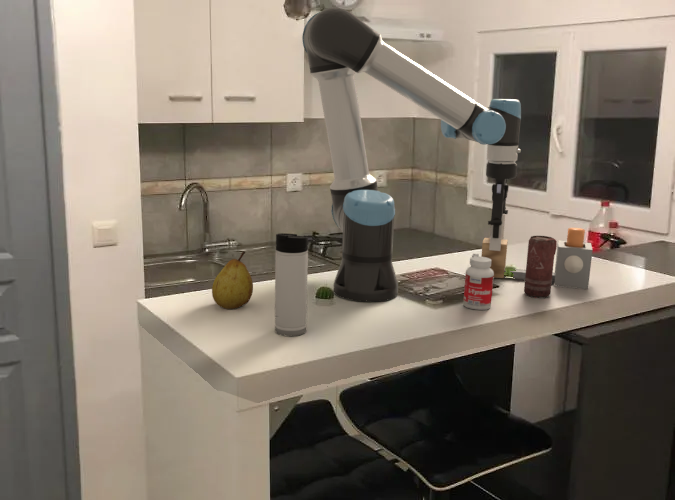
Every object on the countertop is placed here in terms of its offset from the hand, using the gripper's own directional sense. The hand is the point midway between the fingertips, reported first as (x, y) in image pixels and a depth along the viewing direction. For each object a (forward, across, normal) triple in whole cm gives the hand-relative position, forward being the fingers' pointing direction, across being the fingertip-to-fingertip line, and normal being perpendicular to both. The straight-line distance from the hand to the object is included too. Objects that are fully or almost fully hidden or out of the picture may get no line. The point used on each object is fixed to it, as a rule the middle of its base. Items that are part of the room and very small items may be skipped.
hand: (496, 244), depth 188 cm
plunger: (+1, 0, -19) cm, 19 cm away
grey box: (+9, 0, -19) cm, 21 cm away
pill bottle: (+8, -28, +2) cm, 29 cm away
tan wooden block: (+8, 0, 0) cm, 8 cm away
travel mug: (+8, -58, +36) cm, 69 cm away
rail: (+8, 0, -5) cm, 10 cm away
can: (+9, -14, -11) cm, 20 cm away
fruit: (+7, -47, +53) cm, 71 cm away
